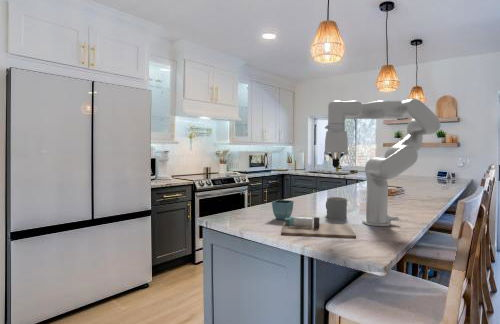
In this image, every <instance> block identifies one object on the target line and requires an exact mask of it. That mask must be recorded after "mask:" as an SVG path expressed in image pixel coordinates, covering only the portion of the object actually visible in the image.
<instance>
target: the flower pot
mask: <svg viewBox="0 0 500 324" xmlns="http://www.w3.org/2000/svg"><path fill="white" fill-rule="evenodd" d="M271 207H272V212H273V216H274V218H276V220H284V221H285V218H289V217H290V216H291V215H292V213H293V209H294V200H285V199H277V200H274V201H271ZM291 217H292V216H291Z"/></svg>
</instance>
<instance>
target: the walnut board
mask: <svg viewBox="0 0 500 324" xmlns="http://www.w3.org/2000/svg"><path fill="white" fill-rule="evenodd" d="M280 233H281V234H280V235H281V236H301V237H323V238H324V237H325V238H346V239H356V238H357V234H356V233H355V231H354V230H353V229H352V227H351V226H350V224H337V223H334V224H333V223H320V217H318V216H314V217H313V226H312V227H307V226H292V225H289V218H285V220H284V222H283V223H282V228H281V231H280Z"/></svg>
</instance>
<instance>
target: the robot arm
mask: <svg viewBox="0 0 500 324" xmlns="http://www.w3.org/2000/svg"><path fill="white" fill-rule="evenodd" d="M327 105H328V107H327V109H328V110H327V111H328V112H327V113H328V114H327V125H324V129H326V132H325V138H324V153H323V155H324V156H325V155H326V156H328V157H330V158H331V159H332V161H331V162H332V167H333V168H335V169H337V168H339V166H340V160H341V158H342V157H343V156H347V155H349V152H348V149H349V141H348V132H347V130H346V129H345V128H346V120H363V119H364V120H366V119H367V120H369V119H370V120H378V119H379V120H383V119H385V120H387V119H388V120H389V119H392V120H394V119H395V120H403V119H411V120H410V121H409V122H408V124H407V127H406V135H405V137H403V139H401V140H400V141H399V142H397V143H396V144H394V145H392V146H390V147H389V148H388V149H386V152H384V153H385V154H384V157H372V158H370V159H368V160H367V162H366V163H365V166H364V172H365V178H366V179H365V181H366V193H365V194H366V197H365V200H366V201H365V202H366V203H365V204H366V205H365V206H366V207H365V208H366V209H365V218H364V219H362V223H363V224H365V225H368V226H371V227H372V226H373V227H389V226H391V225H392V221H395V222H399V217H398V216H394V215H389V214H388V211H389V210H388V209H389V208H388V207H389V205H388V203H389V200H388V199H389V184H388V180H392V179H395V178H396V177H398V176H400V175H401V174H403V173H404V172H405V171H407V170H408V169H410V168H411V167H413V166H414V165H415V164H416V163H417V161H418V157H419V155H418V151H419V150H420V149H421V148H422V144H423V139H424V138H423V136H424V135H427V136H428V135H433V134H436V133H438V132H439V130H440V129H441V121H440V119H439V117H438V116H437V115H436V114H435V113H434V112H433V110H431V109H430V108H429V107H428V106H427V105H426V104H425V103H424V102H423V101H421V100H420V99H418V98H410V99H406V100H377V101H376V100H375V101H371V102H366V103H365V102H361V101H359V100H347V101H343V100H342V101H341V100H333V101H330V102H328V104H327ZM335 153H336V154H337V156H335V155H336V154H335Z"/></svg>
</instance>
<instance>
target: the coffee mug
mask: <svg viewBox="0 0 500 324" xmlns="http://www.w3.org/2000/svg"><path fill="white" fill-rule="evenodd" d="M325 209H326V218H327V219H330V220H335V221H338V220H339V221H341V220H342V221H344V220H347V217H348V216H347V215H348V211H347V209H348V199H347V198H346V197H342V196H341V197H340V196H338V197H337V196H330V197H327V198H326V202H325Z"/></svg>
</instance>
